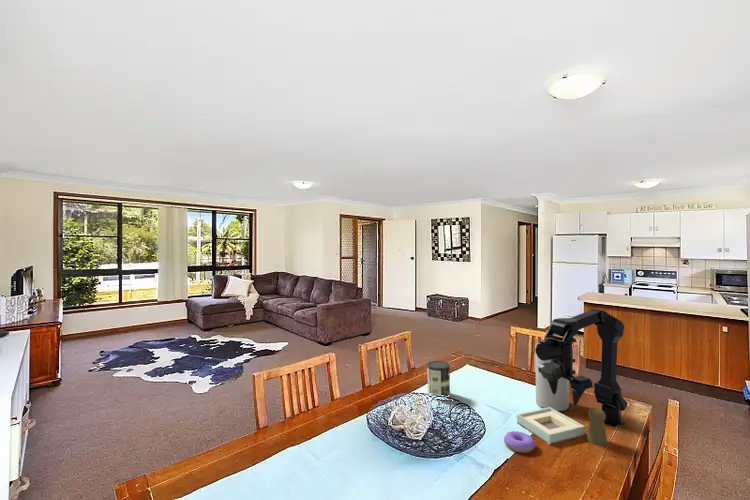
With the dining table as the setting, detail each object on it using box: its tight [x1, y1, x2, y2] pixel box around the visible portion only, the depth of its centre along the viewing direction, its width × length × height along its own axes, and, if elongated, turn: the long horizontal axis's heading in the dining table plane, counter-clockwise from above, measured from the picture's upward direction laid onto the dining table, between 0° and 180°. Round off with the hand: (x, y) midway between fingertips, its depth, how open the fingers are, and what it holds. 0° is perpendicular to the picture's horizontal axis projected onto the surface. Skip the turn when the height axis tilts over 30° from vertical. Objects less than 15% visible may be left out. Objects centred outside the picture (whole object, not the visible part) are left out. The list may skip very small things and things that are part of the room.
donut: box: [503, 430, 536, 454], centre depth 126 cm, size 10×9×5 cm
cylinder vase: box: [534, 342, 570, 412], centre depth 155 cm, size 12×12×25 cm
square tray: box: [516, 407, 586, 446], centre depth 136 cm, size 16×16×4 cm
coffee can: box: [426, 360, 451, 396], centre depth 168 cm, size 10×10×14 cm
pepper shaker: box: [586, 407, 608, 447], centre depth 128 cm, size 6×6×11 cm
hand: (564, 399), depth 130 cm, fingers open, 9 cm apart
